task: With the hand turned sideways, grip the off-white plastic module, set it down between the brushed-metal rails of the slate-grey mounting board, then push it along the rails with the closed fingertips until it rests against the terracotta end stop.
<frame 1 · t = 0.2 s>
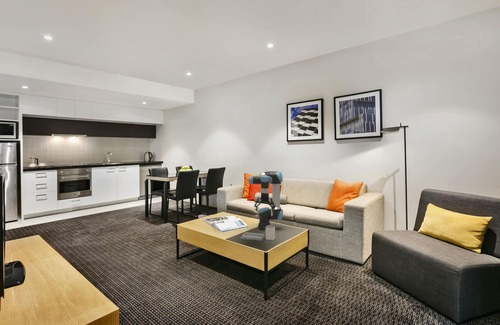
hand: (264, 214, 242), 27 cm above the table, fingers open, 13 cm apart
module: (270, 238, 256), on the table
mounting board: (253, 237, 262), on the table
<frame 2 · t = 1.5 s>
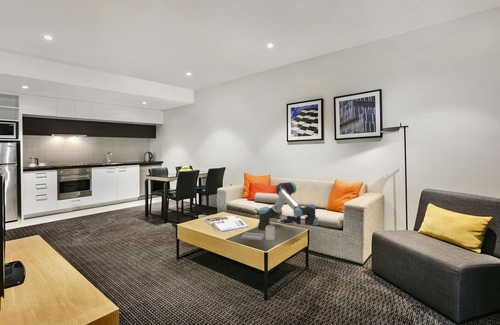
hand: (279, 218, 252), 21 cm above the table, fingers open, 13 cm apart
nothing on the table moved.
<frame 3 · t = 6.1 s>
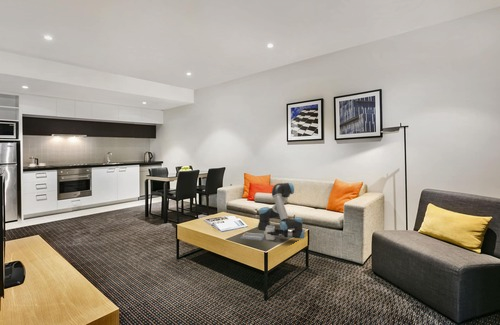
hand: (265, 231, 257), 7 cm above the table, fingers closed on module, 6 cm apart
module: (270, 238, 256), on the table, touching gripper
when the fingers open (9 cm above the table, at t = 11.6 s): module drops 1 cm, resting on mounting board.
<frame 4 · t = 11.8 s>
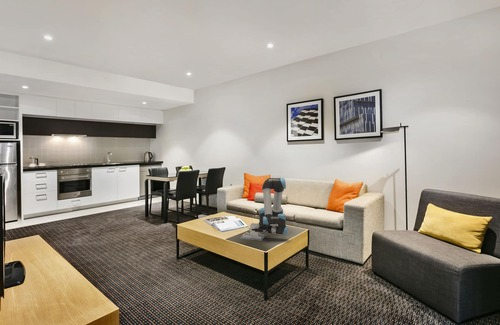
hand: (250, 227, 262), 9 cm above the table, fingers open, 8 cm apart
module: (254, 236, 261), point 1 cm above the table, touching mounting board
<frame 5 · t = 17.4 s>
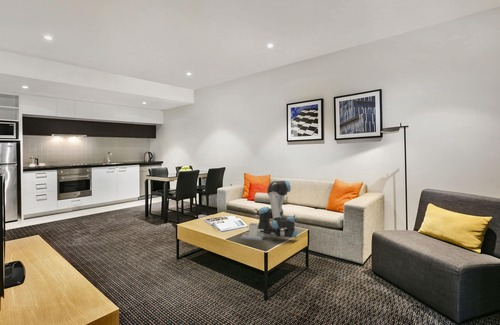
hand: (257, 230, 259), 7 cm above the table, fingers closed
module: (253, 236, 261), point 1 cm above the table, touching gripper
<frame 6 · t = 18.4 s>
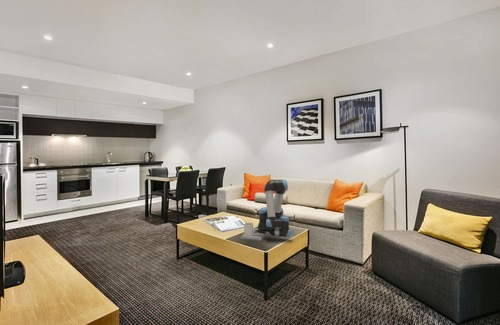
hand: (252, 230, 261), 7 cm above the table, fingers closed
module: (248, 235, 263), point 1 cm above the table, touching gripper
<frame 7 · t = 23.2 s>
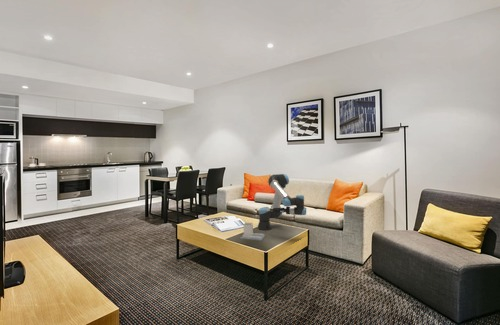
hand: (267, 209, 262), 28 cm above the table, fingers closed
module: (248, 235, 263), point 1 cm above the table, touching mounting board
at the end: module 0.5 cm from the target spot on the mounting board, point 1.0 cm above the mounting board's base; module tilted 0°; the gripper is holding nothing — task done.
